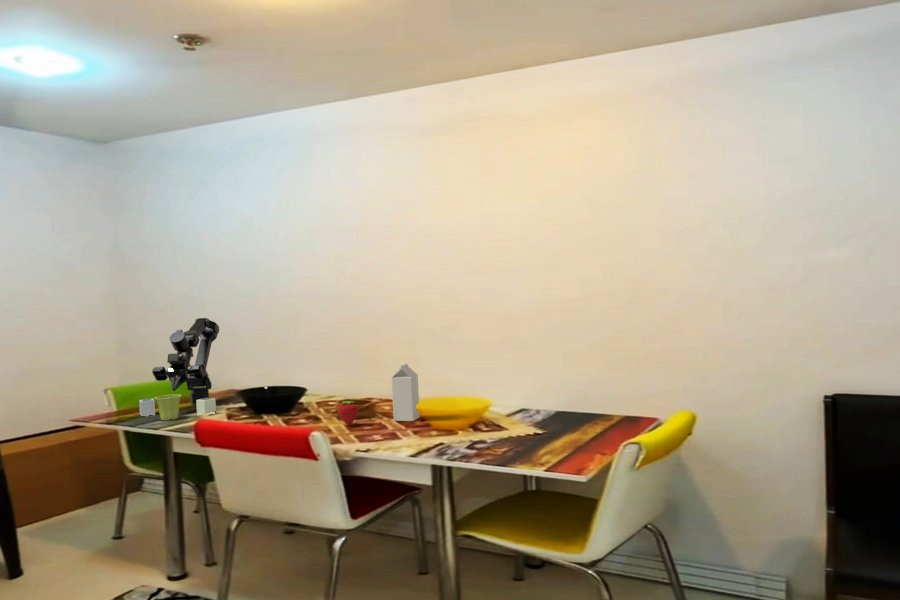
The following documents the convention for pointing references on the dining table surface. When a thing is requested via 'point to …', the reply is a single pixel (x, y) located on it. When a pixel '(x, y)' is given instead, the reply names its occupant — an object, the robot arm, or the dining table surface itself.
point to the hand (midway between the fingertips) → (173, 390)
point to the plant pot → (168, 406)
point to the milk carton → (405, 394)
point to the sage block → (205, 406)
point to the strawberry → (348, 412)
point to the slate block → (147, 407)
